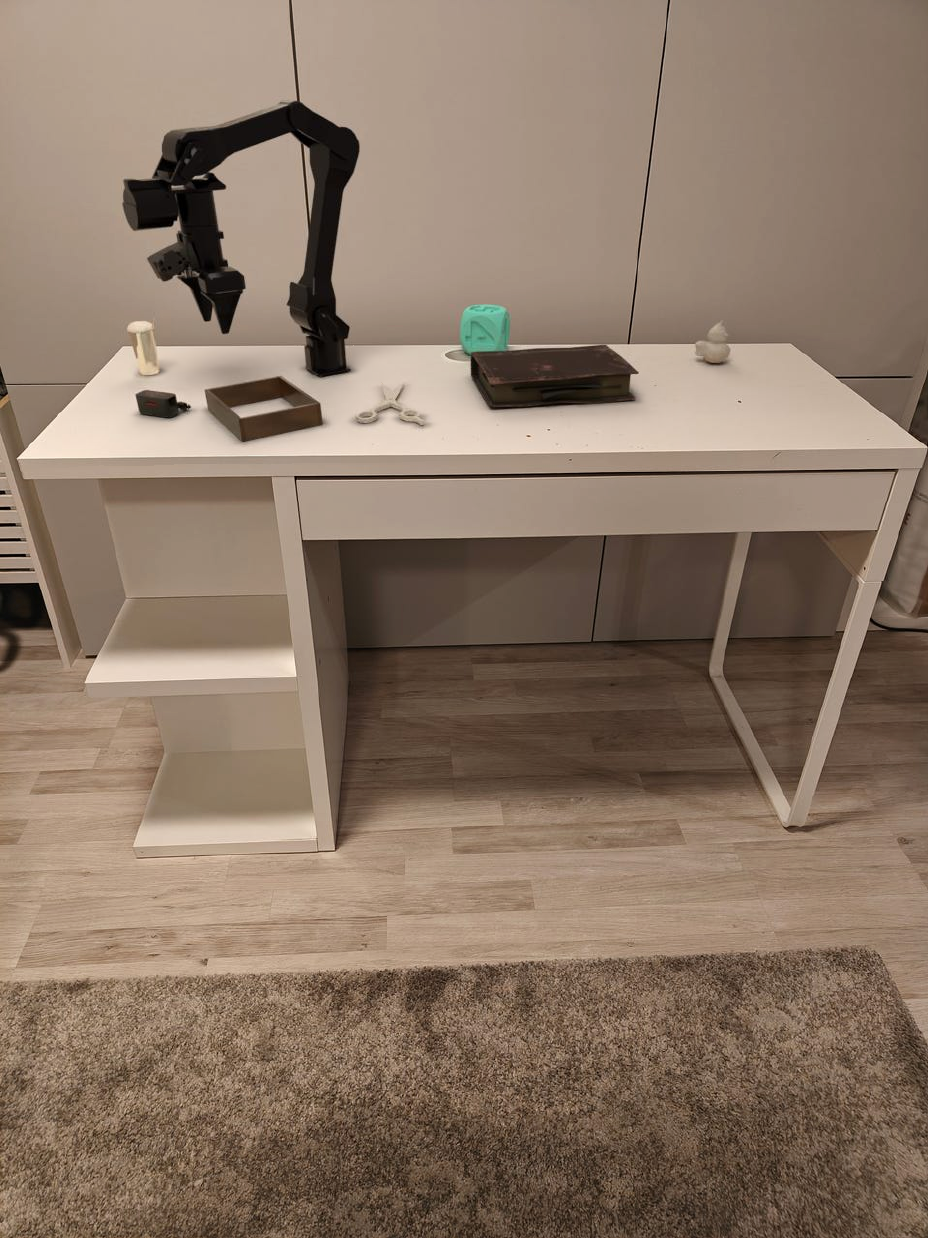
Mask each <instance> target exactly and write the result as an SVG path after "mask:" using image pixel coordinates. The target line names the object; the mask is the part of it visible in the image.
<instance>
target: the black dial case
mask: <svg viewBox="0 0 928 1238" xmlns="http://www.w3.org/2000/svg"><path fill="white" fill-rule="evenodd" d="M134 395H135V399H136V404H137V408H138V412H139V413H140V414H141V415H147V416H148V415H149V416H155V417H161V418H167V419H170V418H171V419H172V418H173V417H175V416H177V415H178V414H179V413H180V411H182V412H186V411H187V410H190V409H192V406H191V405H190V404H187V402H185V401H178V399H177V394H176V393H171V392H165V391H158V390H157V391H156V390H152V389H151V390H150V389H144V390H141V391H139V392H136V393H135V394H134Z"/></svg>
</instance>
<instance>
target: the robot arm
mask: <svg viewBox="0 0 928 1238" xmlns="http://www.w3.org/2000/svg"><path fill="white" fill-rule="evenodd" d="M287 134H290V135H292V136H293V138H295V140H297V141H298V142H299V143H300V144H301V145H303V146H304V147H306V148H307V149H309V151H308V152H309V166H310V170H311V174H312V178H313V181H314V186H313V187H314V188H313V194H312V195H313V196H312V204H311V210H310V218H309V219H310V220H309V226H308V227H309V228H308V235H307V243H306V251H305V260H304V266H303V267H304V268H303V273H302V275H301V277H300V279H299V280H298V282H294V281H290V283H289V297H288V300H287V302H286V306H287V307H289V315H290V317H291V319H292V320H293V322H294V323H296V324H297V325H298V326H299V328H300V330H301V333H302V334H304V335H306V336H305V343H306V344H305V345H304V346H303V347H304V358H305V369H307V370H308V371H310V372H311V373H312V374H314V375H316V376H317V377H324V376H330V375H336V374H342V373H346V372H351V367H350V366H348V365H347V356H346V343H345V342H346V341H345V340H347V339H348V338H349V335H350V329H351V327H350V325H349V324H347V322H345V321H344V320H343V319H342V318H341V317H340V316H339V315H337V297H336V292H335V289H334V285H333V281H332V280H333V279H332V277H333V270H334V262H335V255H336V248H337V242H338V241H337V240H338V233H339V225H340V217H341V212H342V211H341V210H342V206H343V205H342V204H343V197H344V191H345V188H346V187H347V185H348V184H349V182H350V180H351V178H352V177H353V175H354V173H355V170H356V167H357V166H356V165H357V163H358V159H359V156H360V151H361V150H360V148H361V144H360V140H359V139H358V138H357V135H356V133H355V132H354V131H353V130H352V129H350V128H349V127H347V126H340V125H339V126H338V125H337V124H336V123H334V122H333V121H331V120H329V119H327V118H326V117H324V116H322V115H320V114H319V113H317V112H315V111H314V110H312V109H310V108H309V107H308V106H306V104H304V102H302V101H299V100H288V99H286V100H285V99H284V100H281V101H280V102H278V103H277V104H275V105H272V106H268V107H266V108H263V109H260V110H257V111H255V112H252V113H249V114H246V115H243V116H241V117H238V118H237V117H236V118H234V119H232V120H229V121H226V122H223V123H220V124H216V125H211V126H195V127H186V128H185V127H184V128H178V129H177V128H176V129H171V130H170V131H168V132H166V133H165V134H164V136H163V139H162V143H161V153H162V154H161V156H160V158H159V160H158V163H157V165H156V166H155V167H156V168H155V170H154V172H153V174H152V177H151V178H141V179H136V178H124V179H123V180H122V182H123V186H124V189H123V191H122V200H123V201H122V204H121V205H122V209H123V213H124V216H125V219H126V222H127V224H128V226H129V228H130V229H131V230H132V231H133V232H137V231H138V232H139V231H146V230H148V231H149V230H156V229H157V230H158V229H167V228H172V227H173V226H174V224H175V222H179V227H180V230H177V233H175V235H176V242H174V243H172V244H170V245H168V246H166V247H164V248H162V249H159V250H158V251H155V252H154V253H152V254H150V255H149V256H147V257H146V261H147V262H148V264H149V265H150V268H151V269H152V270H153V273H154V274H155V276H156V278H157V279H159V280H161V282H163V283H166V282H168V281H170V280H172V279H173V278H174V277H175V276H176V279H177V280H179V281H181V282H182V283H183V284H184V285H186V287H188V288H189V290H190V292H191V294H192V297H193V299H194V301H195V304H196V306H197V308H198V311H199V313H200V315H201V318H202V320H203V322H205V323H208V322H211V320H212V315H213V311H214V315H215V318H216V320H217V324H218V327H219V329H220V332H221V334H222V335H228V334H230V330H231V329H232V328H231V327H232V324H233V320H234V316H235V313H236V310H237V307H238V304H239V301H240V299H241V295H242V294H243V293H244V290H246V289H247V286H246V280H245V279H246V278H245V275H244V274H242V273H241V272H240V271H239V270H238V269H235V268H234V267H232V266H229V261H228V259H226V258H224V253H223V247H222V240H225V235H224V231H222V230H220V228H219V220H218V215H217V208H216V203H215V196H214V191H225V190H226V189H227V185H226V184H225V183H224V182H222V181H221V180H220V179H219V178H218V177H217V176H216V174H215V173H214V172H212V170H214V169H216V168H217V167H219V166H220V165H221V164H223V162H225V161H226V160H227V159H228V158H229V157H230V156H232V155H233V154H235V153H238V152H241V151H243V150H247V149H250V148H252V147H254V146H258V145H260V144H263V143H265V142H268V141H270V140H274V139H277V138H279V137H282V136H284V135H287ZM200 176H203V177H202V178H201V177H200ZM195 177H200V178H195Z"/></svg>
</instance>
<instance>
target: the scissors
mask: <svg viewBox="0 0 928 1238" xmlns="http://www.w3.org/2000/svg"><path fill="white" fill-rule="evenodd" d="M404 384H405V382H402V384H400V385H399V386H398V387H397V389H396V390H395V391H394V392H393V393H390V391H389V390H388V389H387V387H386V386H385V385H384V384H383V383H381V386H382V390H383V395H384V398H385V399H384V400H383V402H382V403H381V404H379V405H376V406H374V407H373V409H369V410H364V411H361V412H358V413H357V414H356V421H357V422H359V423H361V424H369V423H373V422H375V421H377V419H378V418H379V415H378V412H380V411H383V410H385V409H388V408H390V407H392V408H394V409H396V410H399V411H400V412H399V415H398V416H399V418H400V419H401V420H403V421H406V422H415V423H418V424H419V425H420V426H423V425H425V419H422V418H421V411H419V410H417V409H412V408H411V409H410V408H406V407H405V405H403V404H399V403H398V402H397V400H396V399H397V398H398V396H399V394H400V393H401V391H402V389H403V387H404Z"/></svg>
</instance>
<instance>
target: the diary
mask: <svg viewBox="0 0 928 1238" xmlns="http://www.w3.org/2000/svg"><path fill="white" fill-rule="evenodd" d="M631 375H639V371H638V370H637V369H636V368H635V367H634V366H633V365H631V364H630V363H629V362H628V361H627V360H626V359H625V358H624V357H623V356H622V355H620V354H619V353H618V352H616V351H615V350H614V349H612V348H611V347H609V346H608V345H607V344H597V345H584V346H572V347H536V348H524V349H523V348H522V349H514V350H512V349H511V350H506V351H475V352H471V355H470V377H471V378H472V380H473V382H474V384H475V386H476V387H477V389H478V390H479V392H480V394H481V395H482V397H483V399H484V400H485V402H486V404H487V405H488V406H491V407H495V408H504V407H505V408H506V407H507V408H510V407H511V408H512V407H533V406H542V405H552V404H559V403H560V404H562V403H563V404H564V403H565V404H593V405H594V404H606V403H614V402H625V401H632V400H633V401H634V400H636V396H634V395H633V393H632V392H630V386H631Z"/></svg>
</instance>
